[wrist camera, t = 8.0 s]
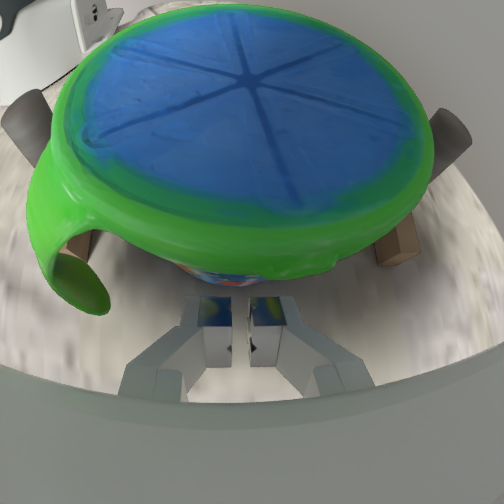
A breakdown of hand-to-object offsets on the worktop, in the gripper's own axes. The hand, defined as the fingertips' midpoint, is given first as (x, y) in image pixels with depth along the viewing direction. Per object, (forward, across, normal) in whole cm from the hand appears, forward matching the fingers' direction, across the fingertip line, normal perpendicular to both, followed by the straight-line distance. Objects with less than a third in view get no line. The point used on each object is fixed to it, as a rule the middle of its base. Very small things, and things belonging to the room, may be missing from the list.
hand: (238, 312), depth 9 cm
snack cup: (+7, 0, -1) cm, 7 cm away
